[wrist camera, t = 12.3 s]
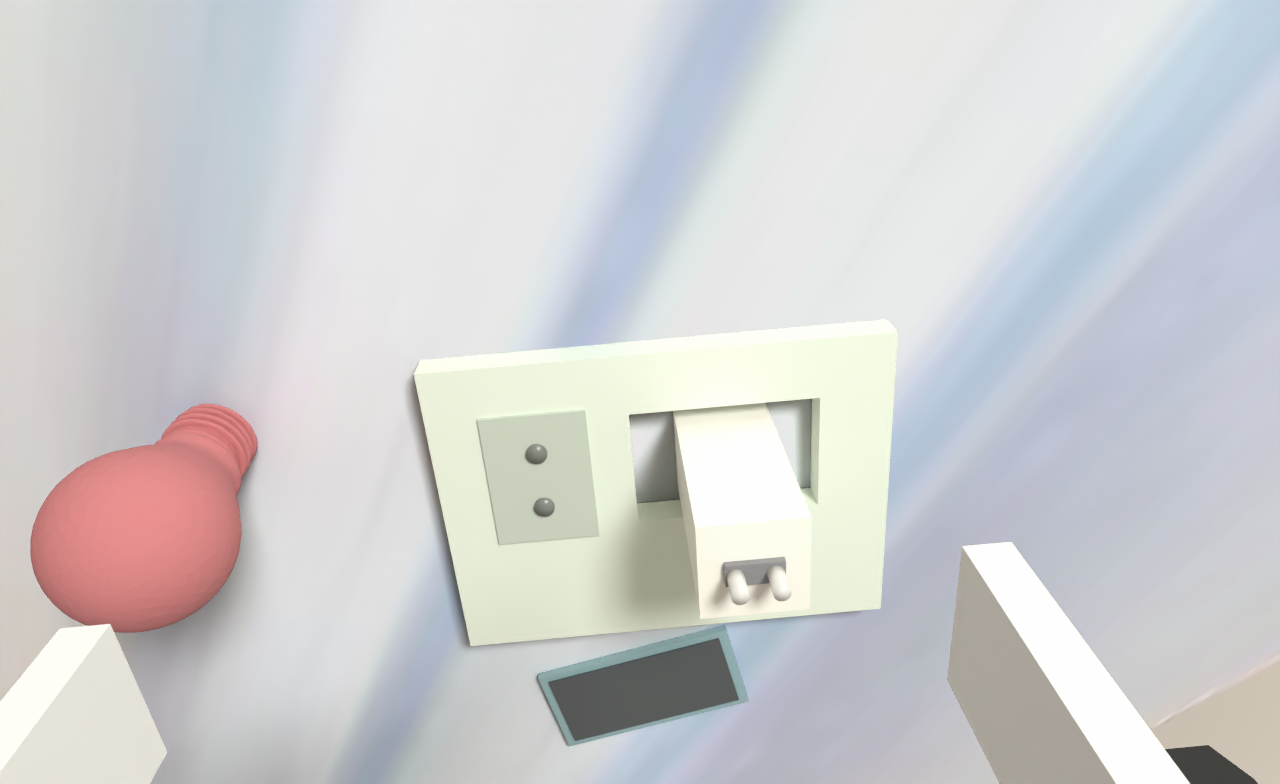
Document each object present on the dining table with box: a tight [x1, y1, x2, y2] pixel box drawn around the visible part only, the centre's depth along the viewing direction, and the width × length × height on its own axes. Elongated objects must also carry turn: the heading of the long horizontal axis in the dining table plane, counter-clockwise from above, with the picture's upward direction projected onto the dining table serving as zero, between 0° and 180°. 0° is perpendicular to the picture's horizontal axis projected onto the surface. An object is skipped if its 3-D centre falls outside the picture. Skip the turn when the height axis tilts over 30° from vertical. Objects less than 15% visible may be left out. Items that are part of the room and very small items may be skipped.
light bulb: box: [31, 404, 257, 633], centre depth 36 cm, size 7×7×12 cm
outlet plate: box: [414, 319, 898, 646], centre depth 43 cm, size 22×16×2 cm
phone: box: [538, 625, 749, 746], centre depth 50 cm, size 11×6×1 cm, turn 106°
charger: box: [673, 403, 812, 619], centre depth 38 cm, size 4×4×12 cm
